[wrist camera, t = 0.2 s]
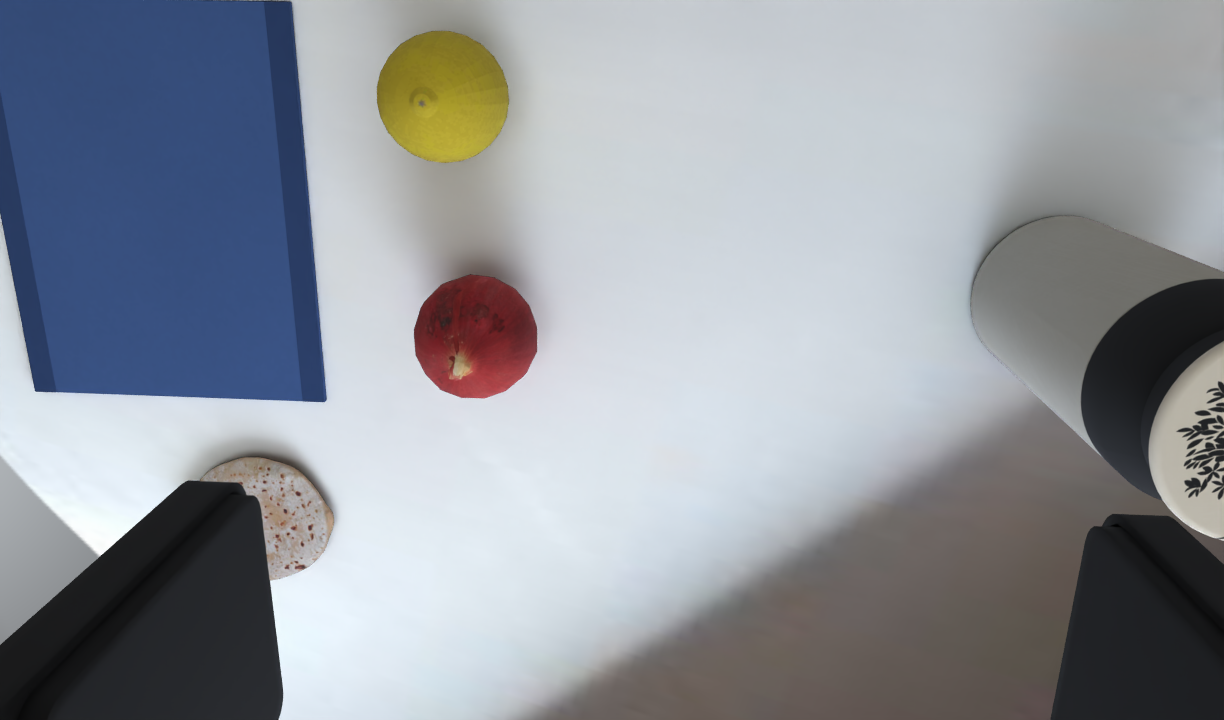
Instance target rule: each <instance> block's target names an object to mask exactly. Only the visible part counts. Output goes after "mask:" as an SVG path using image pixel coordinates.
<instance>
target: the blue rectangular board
mask: <svg viewBox="0 0 1224 720" xmlns="http://www.w3.org/2000/svg"><path fill="white" fill-rule="evenodd" d="M0 214H1V219H2V224H3V229H4V235H5V240H6V245H7V250H8V255H9V260H10V265H11V270H12V275H13V281H14V286H15V291H16V296H17V301H18V306H19V311H20V316H21V322H22V327H23V332H24V337H25V342H26V347H27V352H28V357H29V363H30V368H31V373H32V378H33V383H34V388H35V391H36V392H68V393H96V394H123V395H150V396H178V397H205V398H232V399H260V400H287V401H308V402H325V401H326V389H325V378H324V366H323V355H322V344H321V332H320V321H319V310H318V298H317V287H316V275H315V264H314V253H313V241H312V230H311V219H310V207H309V196H308V185H307V173H306V162H305V151H304V139H303V128H302V116H301V105H300V94H299V82H298V71H297V60H296V48H295V37H294V26H293V14H292V3H291V2H289V1H221V0H0Z"/></svg>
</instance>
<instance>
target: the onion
mask: <svg viewBox="0 0 1224 720" xmlns="http://www.w3.org/2000/svg"><path fill="white" fill-rule="evenodd" d="M414 339H415V352H416V357H417V358H418V360H419V362H420V364H421V366H422V368H423V370H424V372H425V374H426V375H427V376H428V377H429V378H430V379H431V380H432V381H433V382H434V383H435V384H436V385H437V386H438V387H439V388H440V390H442V391H445V392H448V393H450V394H453V395H456V396H458V397H461V398H487V397H490V396H493V395H495V394H498V393H501V392H504V391H506V390H507V389H508V388H510V387H511V386H512V385H513V384H515V383H516V382H517V381H518V380H519V379H521V378H522V377H523V376H524V375H525V374H526V373H527V371H528V369H529V367H530V364H531V362H532V360H533V358H534V356H535V354H536V352H537V326H536V323H535V320H534V317H533V315H532V312H531V309H530V306H529V305H528V303H527V302H526V301H525V300H524V299H523V298H522V296H521V295H520V294H519V293H518V292H517V291H516V289H514V288H512V287H511V286H509V285H507V284H505V283H503V282H502V281H500V280H498V279H496V278H493V277H486V276H479V275H471V274H470V275H467V276H464V277H461V278H458V279H455V280H452V281H449V282H447V283H444V284H442V285H440V286H439V287H438V289H437V290H436V291H435V292H434V293H433V294H432V295H431V296H430V297H429V298H428V299H427V300H426V301H425V302H424V303H423V305H422V307H421V309H420V312H419V315H418V319H417V322H416V325H415V328H414Z"/></svg>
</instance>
